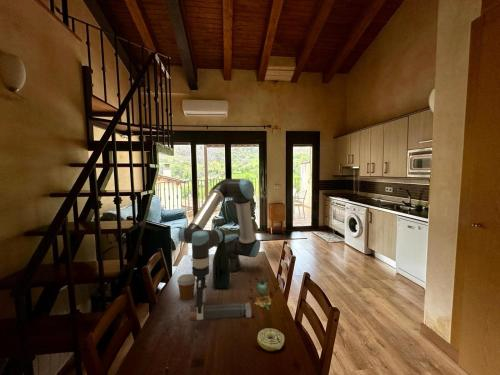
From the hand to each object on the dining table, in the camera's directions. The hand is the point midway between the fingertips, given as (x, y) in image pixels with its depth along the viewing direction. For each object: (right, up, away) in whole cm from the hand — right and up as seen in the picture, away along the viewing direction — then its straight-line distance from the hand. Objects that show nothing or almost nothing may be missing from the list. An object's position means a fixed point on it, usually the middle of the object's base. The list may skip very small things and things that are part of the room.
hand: (201, 310), depth 112 cm
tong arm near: (+8, -3, 0) cm, 8 cm away
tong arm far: (+7, -3, +2) cm, 8 cm away
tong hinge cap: (+22, -3, +3) cm, 22 cm away
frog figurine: (+29, -3, +13) cm, 32 cm away
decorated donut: (+31, -6, -15) cm, 35 cm away
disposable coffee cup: (-11, -3, +16) cm, 20 cm away
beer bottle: (+6, -2, +30) cm, 31 cm away
